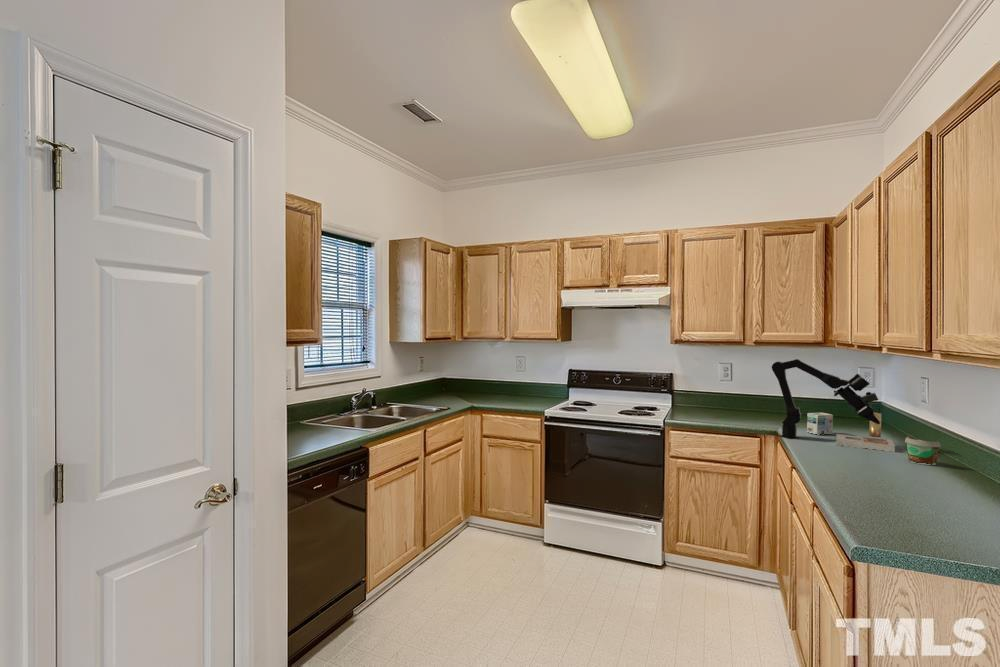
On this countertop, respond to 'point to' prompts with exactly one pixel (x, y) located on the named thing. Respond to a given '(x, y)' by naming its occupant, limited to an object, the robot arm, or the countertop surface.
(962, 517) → the countertop surface
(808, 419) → the light bulb box
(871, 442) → the socket plate
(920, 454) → the food container
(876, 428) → the brass peg
